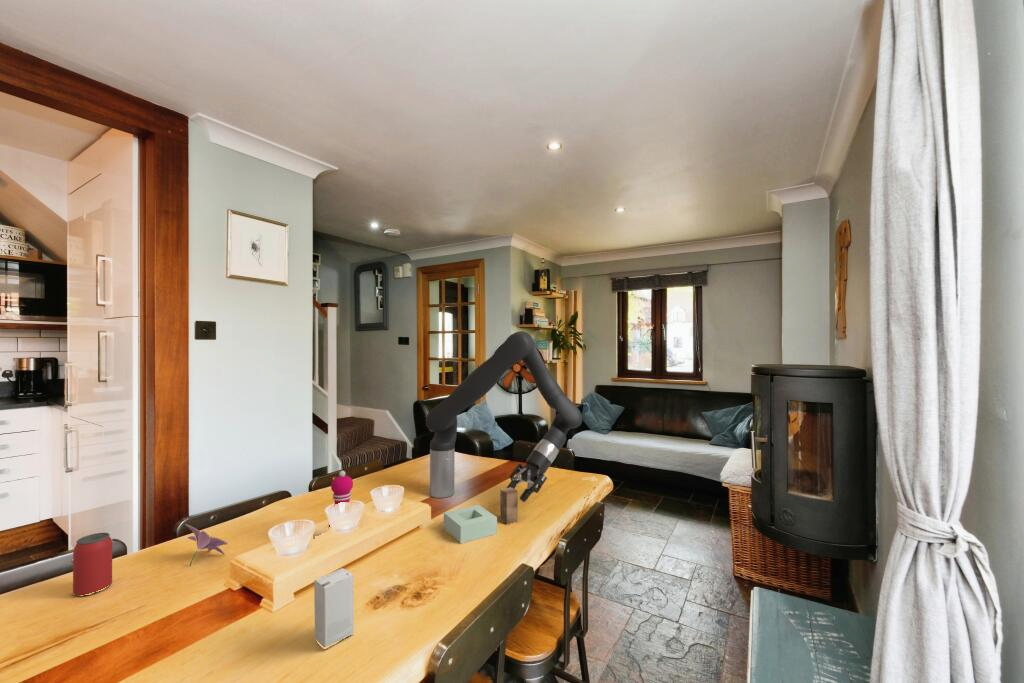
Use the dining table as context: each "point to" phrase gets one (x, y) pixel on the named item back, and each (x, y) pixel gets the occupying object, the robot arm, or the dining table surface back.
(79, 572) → the beer can
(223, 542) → the lily
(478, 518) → the socket
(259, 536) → the dining table surface
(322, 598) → the skincare box
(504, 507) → the peg
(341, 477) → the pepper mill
